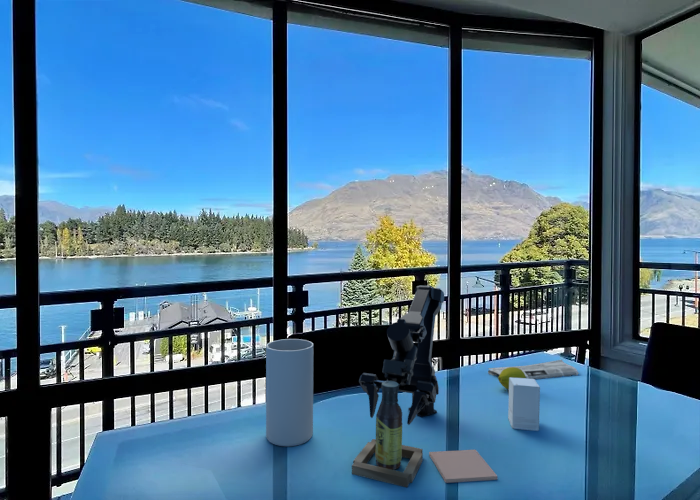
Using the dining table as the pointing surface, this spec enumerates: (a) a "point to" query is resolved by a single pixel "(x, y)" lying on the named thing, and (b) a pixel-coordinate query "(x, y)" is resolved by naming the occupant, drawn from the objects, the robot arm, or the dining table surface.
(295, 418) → the cylinder vase
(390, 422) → the sauce bottle
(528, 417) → the supplement box
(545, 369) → the newspaper
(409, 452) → the bottle holder
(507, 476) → the dining table surface
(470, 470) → the tile
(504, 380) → the lemon
